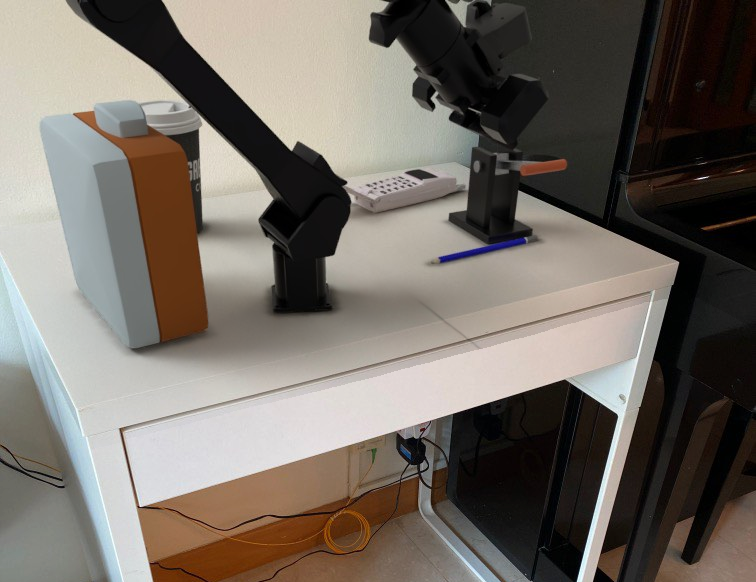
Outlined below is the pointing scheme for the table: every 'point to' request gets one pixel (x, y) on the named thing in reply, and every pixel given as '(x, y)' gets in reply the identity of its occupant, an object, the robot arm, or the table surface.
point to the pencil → (485, 249)
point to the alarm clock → (128, 221)
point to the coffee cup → (180, 139)
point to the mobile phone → (404, 189)
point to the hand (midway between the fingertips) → (513, 146)
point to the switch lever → (526, 165)
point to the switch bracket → (492, 200)
